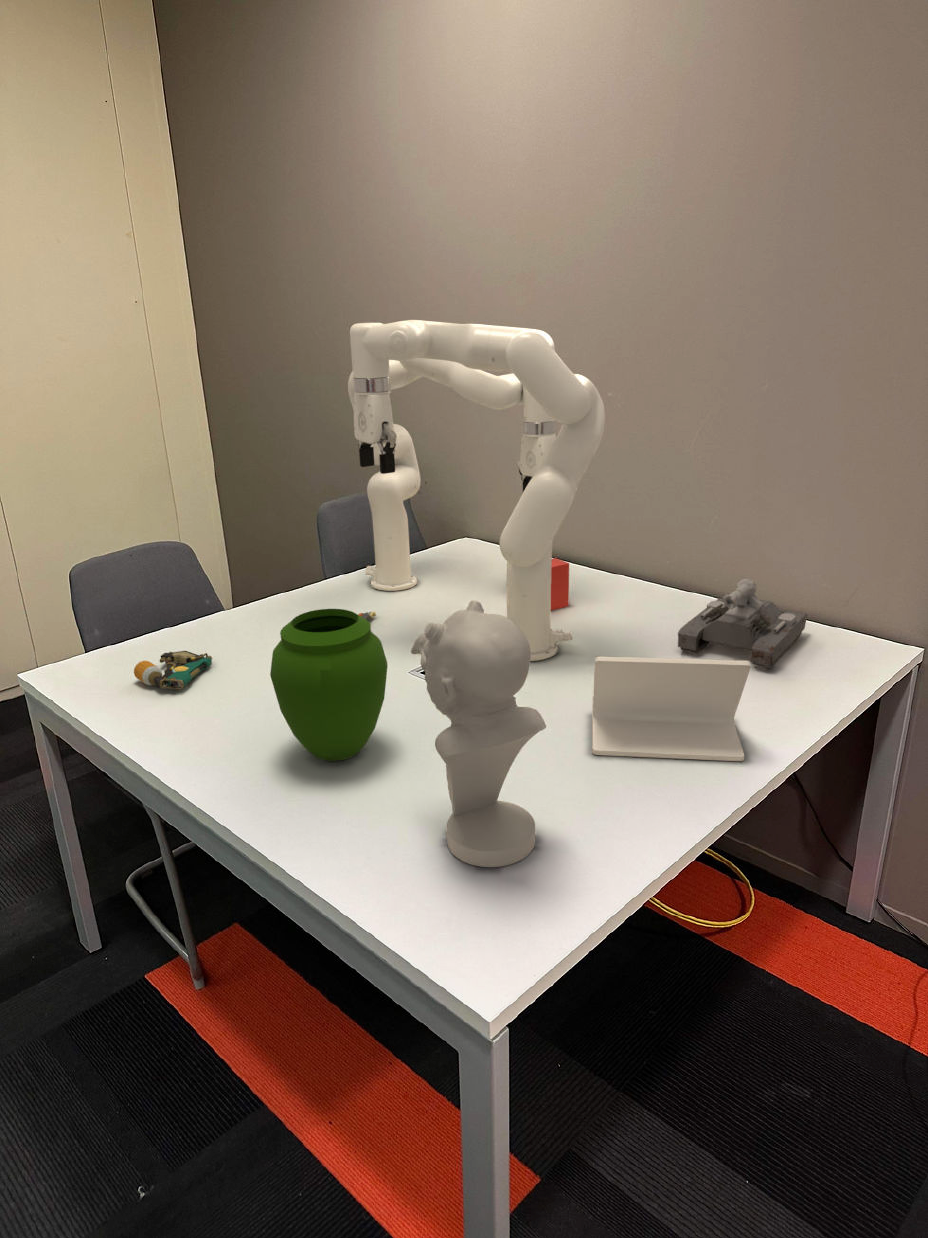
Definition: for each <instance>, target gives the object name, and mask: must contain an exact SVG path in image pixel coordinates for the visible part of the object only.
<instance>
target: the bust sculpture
mask: <svg viewBox="0 0 928 1238" xmlns="http://www.w3.org/2000/svg"><path fill="white" fill-rule="evenodd" d="M530 653H531V652H530V646H529V643H528V640H527V638H526V636H525V634H524V633H523V632H522V630H521V629H520V628H519V627H518V626H517V625H516V624H515V623H514V622H513V621H512V620H511V619H509V618H507V616H504V615H503V614H502V615H501V614H496V613H485V609H484V607H483V605H482V603H481V602H480V601H478V600H473V599H472V600H470V601H469V603H468V605H467V607H466V609H460V610H457V611H455V612H453V613H451V615H449V616H448V617H447V618H446V619H445V620H444V622H442V624H441V623H435V622H430V623H428V624H427V625H426V626H425V628H424V632H423V633H421V634H419V635H418V636H417V637H416V638H415V640H414V642H413V645H412V647H411V649H410V654H412V655H420V667H421V669H422V670H423V672H424V681H425V682H426V690H427V693H428V696H429V698H430V701H431V702H432V704H434V706H435V708H436V710H438V711H439V712H440V713H441V714H442V716H446V717H447V718H448V719H449V720H450V726H448V727H446V728H445V729H443V730H442V731H441V732H440V733H439V734H438V735H436V738H435V741H434V748H435V749H436V752H437V753H438V755H439V757H440V758H441V760H442V761H443V762H444V763H445V771H446V781H447V790H448V796H449V800H450V803H451V810H452V813H451V814H450V815H449V817H448V819H447V822H446V844H447V847H448V849H449V851H450V852H451V854H452V855H453V856H454V857H456V858H457V859H459V860H460V861H462V862H463V863H466V864H469V865H471V866H476V867H483V868H498V867H505V866H509V865H512V864H517V862H520V861H521V860H523V859H525V858H527V856H528V855H530V854H531V852H532V851H533V849H535V848H534V847H535V845H536V822H535V821H536V820H535V819H534V817H533V816H532V814H531V813H530V812H529V811H528V810H526V809H525V808H524V807H522V806H520V805H517V804H515V803H513V802H509V801H504V800H499V796H500V793H501V790H502V788H503V785H504V783H505V780H506V778H507V776H508V773H509V771H510V769H511V768H512V765H513V763H514V761H515V760H516V759H517V756H518V755H519V753H520V752H521V750H522V749H523V748H524V747H525V745H526V744H527V743H528V742H529V741H530V740H531V739H532V738H533V737H535V735H537V734H538V733H539V732H541V731H544V730H545V729H546V728H547V725H546V723H545V720H544V718H543V717H542V714H541V713H540V712H539V711H538V710H537V709H535V708H533V707H530V706H518V705H517V701H516V699H517V698H516V696H515V695H516V694H517V693H519V691H521V689H522V688H523V686H524V684H525V683H526V680H527V678H528V675H529V669H530V666H531V661H530V656H531V655H530Z"/></svg>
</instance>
